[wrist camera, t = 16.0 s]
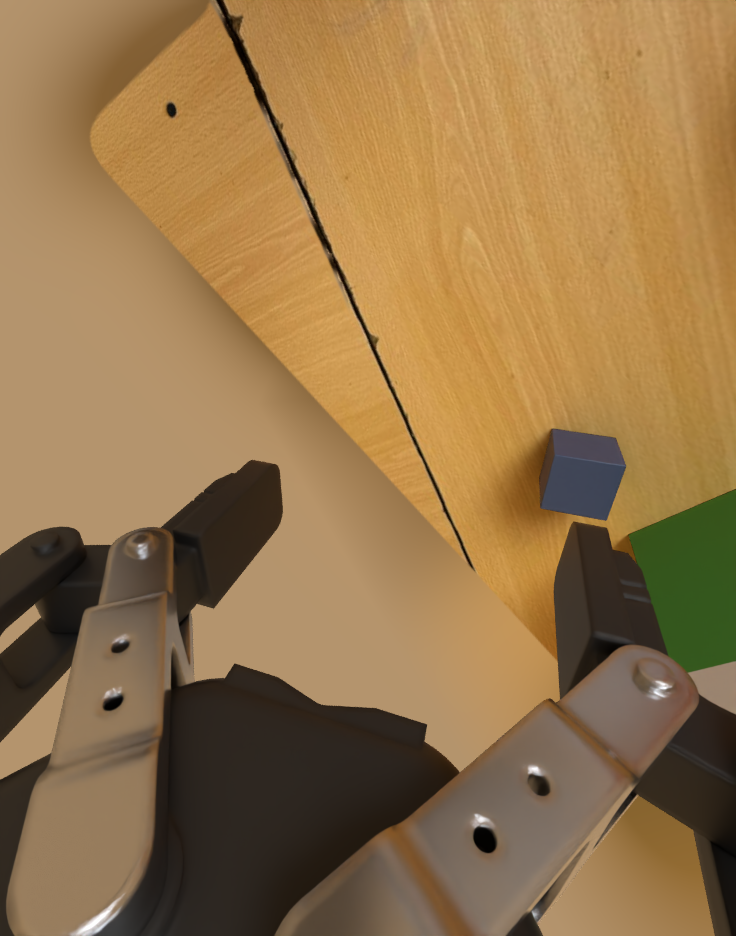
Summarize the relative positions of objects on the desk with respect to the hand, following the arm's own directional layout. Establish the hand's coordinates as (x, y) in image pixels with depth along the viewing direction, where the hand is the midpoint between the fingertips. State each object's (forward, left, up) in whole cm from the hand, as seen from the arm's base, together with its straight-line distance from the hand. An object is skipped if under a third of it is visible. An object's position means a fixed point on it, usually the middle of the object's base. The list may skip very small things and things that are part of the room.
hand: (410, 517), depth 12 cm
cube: (+11, +9, -28) cm, 32 cm away
